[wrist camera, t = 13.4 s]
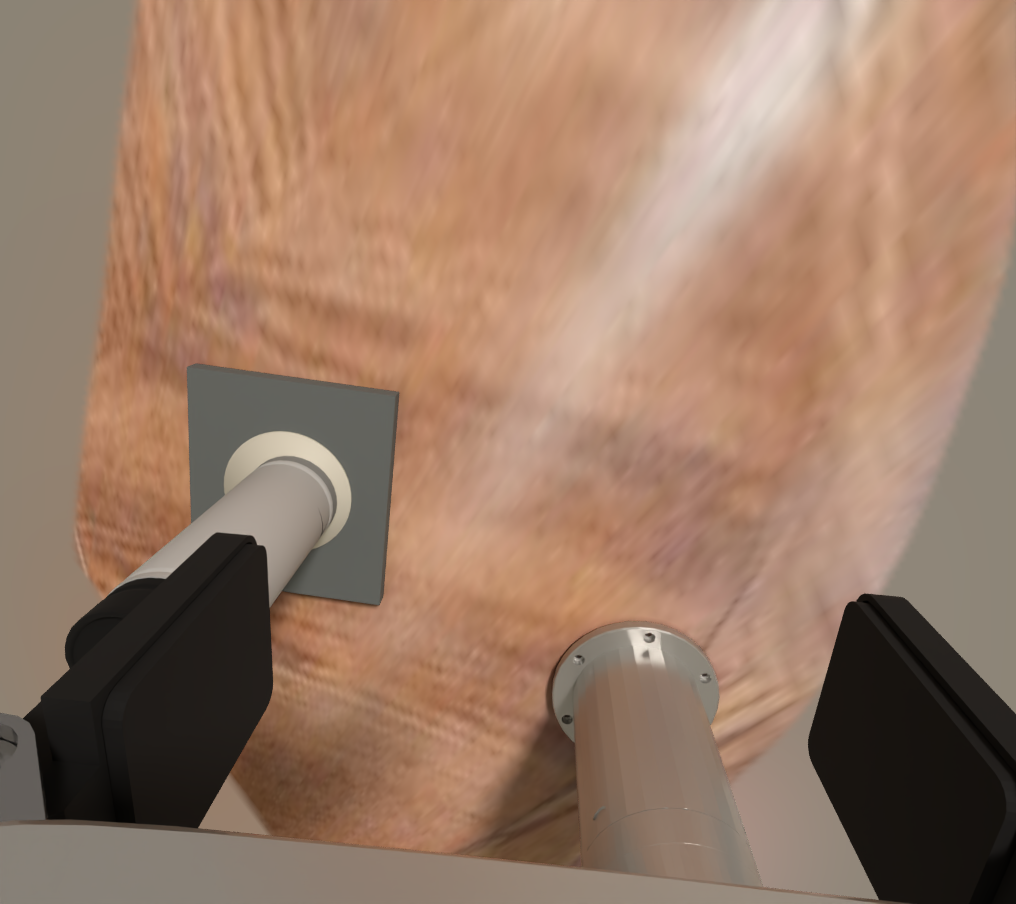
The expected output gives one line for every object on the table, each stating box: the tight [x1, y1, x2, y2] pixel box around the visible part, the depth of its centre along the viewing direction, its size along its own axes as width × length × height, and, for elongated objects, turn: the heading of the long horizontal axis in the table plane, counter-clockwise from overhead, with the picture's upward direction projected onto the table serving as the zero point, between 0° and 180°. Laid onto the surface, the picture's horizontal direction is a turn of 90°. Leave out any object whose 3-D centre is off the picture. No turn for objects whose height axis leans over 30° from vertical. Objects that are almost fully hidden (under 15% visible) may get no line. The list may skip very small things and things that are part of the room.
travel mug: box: [65, 456, 337, 669], centre depth 37 cm, size 6×7×20 cm
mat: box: [187, 364, 399, 605], centre depth 47 cm, size 16×14×1 cm
